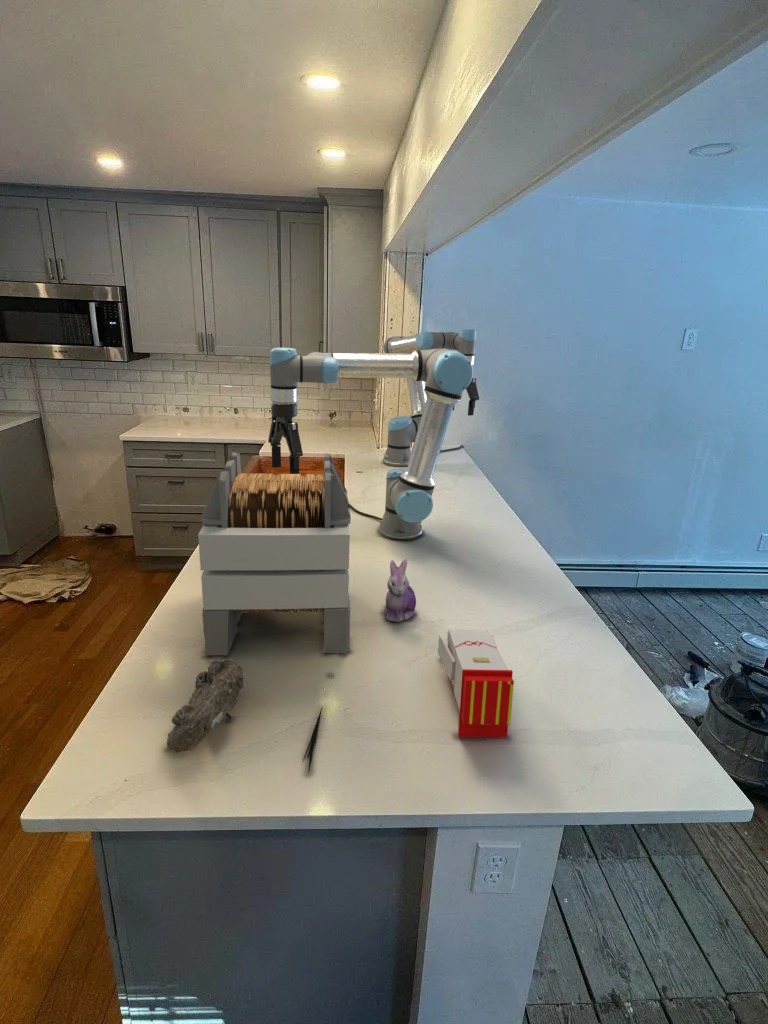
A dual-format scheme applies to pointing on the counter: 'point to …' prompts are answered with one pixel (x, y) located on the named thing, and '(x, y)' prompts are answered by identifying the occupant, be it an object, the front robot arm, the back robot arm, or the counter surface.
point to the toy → (478, 682)
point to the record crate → (275, 551)
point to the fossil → (206, 705)
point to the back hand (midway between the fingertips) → (460, 412)
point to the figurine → (399, 594)
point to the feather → (313, 740)
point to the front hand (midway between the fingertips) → (285, 472)
